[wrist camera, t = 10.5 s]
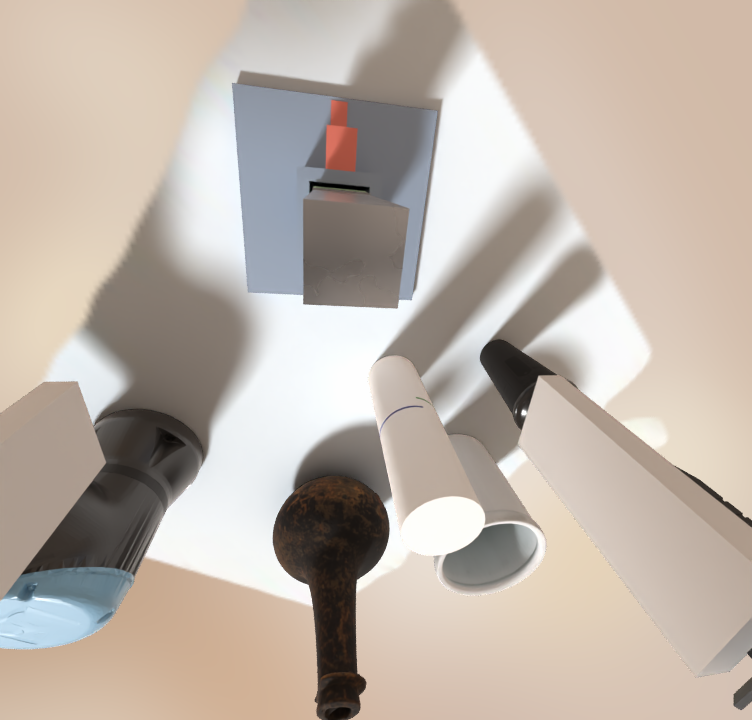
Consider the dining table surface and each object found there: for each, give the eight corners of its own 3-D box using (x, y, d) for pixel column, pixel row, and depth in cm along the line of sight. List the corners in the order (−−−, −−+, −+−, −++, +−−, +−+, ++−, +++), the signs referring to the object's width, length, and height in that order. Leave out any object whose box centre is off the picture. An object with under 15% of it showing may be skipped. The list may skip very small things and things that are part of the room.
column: (314, 234, 34) (299, 307, 15) (314, 185, 32) (298, 194, 13) (358, 238, 35) (400, 312, 15) (361, 189, 33) (413, 204, 13)
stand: (249, 289, 43) (227, 321, 33) (234, 86, 34) (198, 48, 24) (409, 297, 46) (432, 328, 36) (434, 112, 37) (473, 88, 27)
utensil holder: (471, 414, 56) (527, 503, 41) (503, 470, 63) (561, 565, 47) (392, 457, 58) (416, 558, 43) (431, 506, 65) (464, 609, 49)
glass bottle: (278, 534, 63) (248, 764, 38) (277, 458, 55) (238, 684, 30) (376, 530, 66) (407, 741, 41) (388, 457, 58) (436, 663, 33)
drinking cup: (462, 371, 52) (532, 469, 34) (484, 324, 49) (573, 406, 31) (505, 382, 54) (593, 480, 36) (529, 337, 51) (638, 421, 33)
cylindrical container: (369, 354, 49) (406, 498, 27) (419, 355, 50) (494, 494, 28) (366, 398, 52) (396, 558, 30) (413, 398, 53) (475, 552, 31)
